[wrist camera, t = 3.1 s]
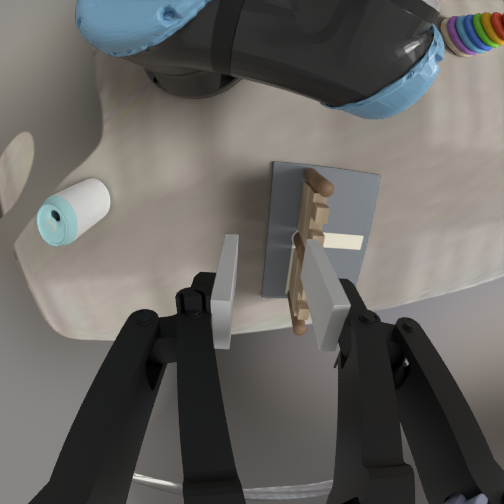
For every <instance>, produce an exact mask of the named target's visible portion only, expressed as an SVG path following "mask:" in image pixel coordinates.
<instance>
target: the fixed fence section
mask: <svg viewBox="0 0 504 504" xmlns="http://www.w3.org/2000/svg"><path fill="white" fill-rule="evenodd" d="M293 241H294V244H295V247H296V248H294V255H293V262H292V269H291V275H290V282H289V290H288V292H287V296H288V301H289V307H290V313H291V319H292V325H293V331H294V334H295V335H298V336H299V335H303V334H304V333H306V325H305V321H304V320H308V316H309V312H310V311H309V307H308V303H307V299H306V296H305V292H304V288H303V285H302V281H301V272H302V266H303V260H304V254H305V247H304V244H303V242H302V239H301V237H300V234H299V232H297V233H296V234H295V235H294V237H293Z"/></svg>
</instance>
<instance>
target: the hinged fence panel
mask: <svg viewBox="0 0 504 504" xmlns="http://www.w3.org/2000/svg"><path fill="white" fill-rule="evenodd" d="M304 177H305V179H306V180H307V181H303V189H302V198H301V206H300V214H299V222H298V231H299V234H300V237H301V239H302V242H303V244H304V247H306V241H307V239H315V240H319V241H320V243H321V245H322V247H323V245H324V239H325V235H324V234H323V232H322V226H323V224H327V222H328V216H329V210H330V208H329V207H328V206H327V205H326V201H327V197H330V196H331V195H332V194H333V193H334V185H333V184H332V183H331V182H330V181H329V180H327V179H326V178H325V177H324V176H322V175H321V174H320V173H318V172H317V171H316V170H314V169H313V168H307V169H305V171H304Z"/></svg>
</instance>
